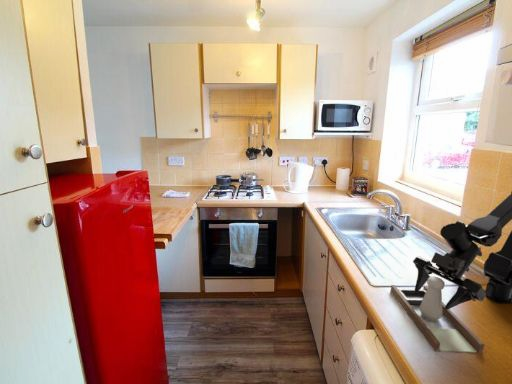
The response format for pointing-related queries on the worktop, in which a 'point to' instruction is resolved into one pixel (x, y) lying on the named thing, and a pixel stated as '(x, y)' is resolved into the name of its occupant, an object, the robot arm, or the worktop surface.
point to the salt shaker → (432, 300)
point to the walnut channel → (443, 330)
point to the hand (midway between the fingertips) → (430, 299)
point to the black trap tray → (413, 296)
